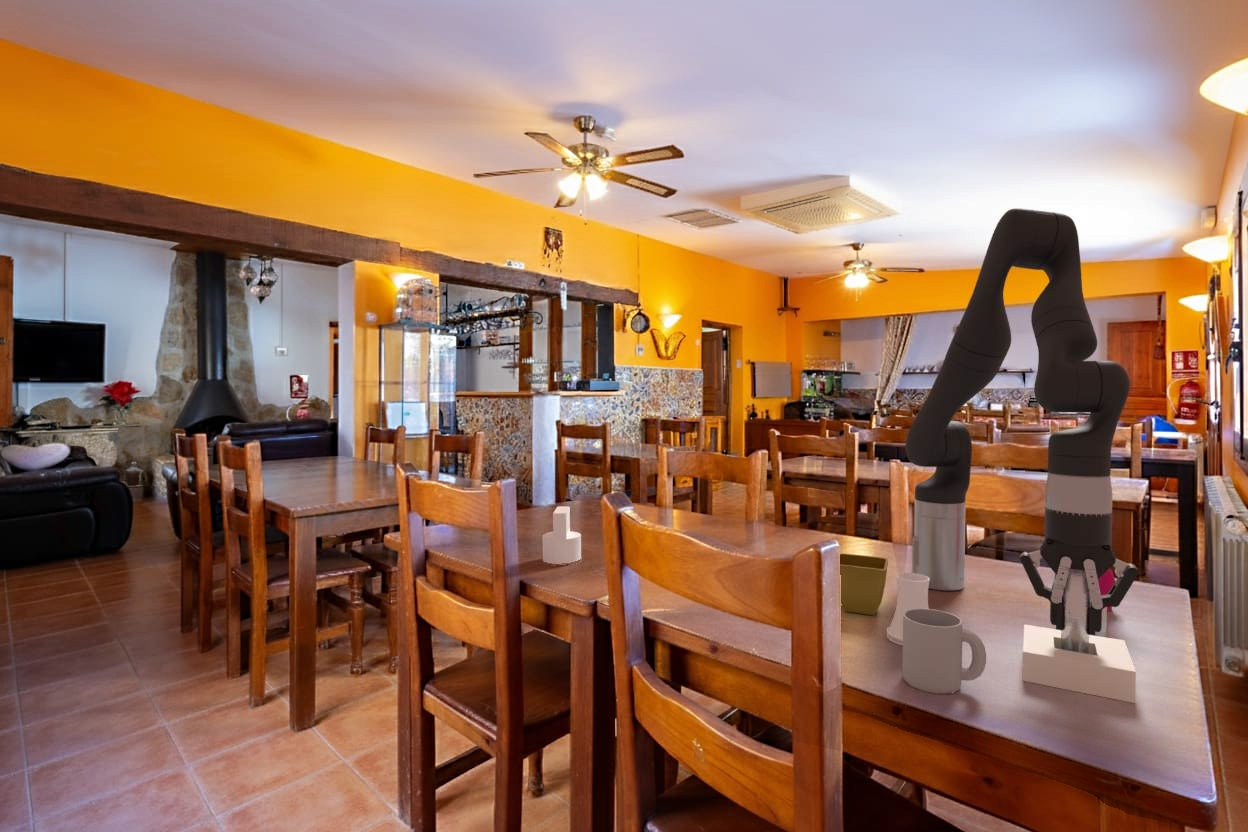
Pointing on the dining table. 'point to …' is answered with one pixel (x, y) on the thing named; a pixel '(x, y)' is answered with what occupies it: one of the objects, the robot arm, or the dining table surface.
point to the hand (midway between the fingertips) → (1075, 630)
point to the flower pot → (862, 582)
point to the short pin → (1103, 624)
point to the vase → (908, 601)
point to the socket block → (1079, 665)
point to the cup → (938, 651)
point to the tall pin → (1075, 613)
